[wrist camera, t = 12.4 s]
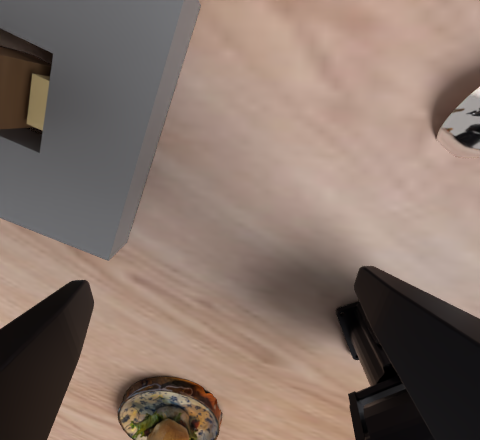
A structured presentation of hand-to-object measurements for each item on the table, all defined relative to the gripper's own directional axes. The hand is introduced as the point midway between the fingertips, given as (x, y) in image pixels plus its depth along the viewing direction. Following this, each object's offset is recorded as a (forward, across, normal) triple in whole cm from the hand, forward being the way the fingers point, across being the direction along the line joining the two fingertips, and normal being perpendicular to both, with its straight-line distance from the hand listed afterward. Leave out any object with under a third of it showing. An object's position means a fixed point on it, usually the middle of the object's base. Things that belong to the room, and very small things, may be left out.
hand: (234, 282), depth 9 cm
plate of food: (+11, +5, +29) cm, 31 cm away
